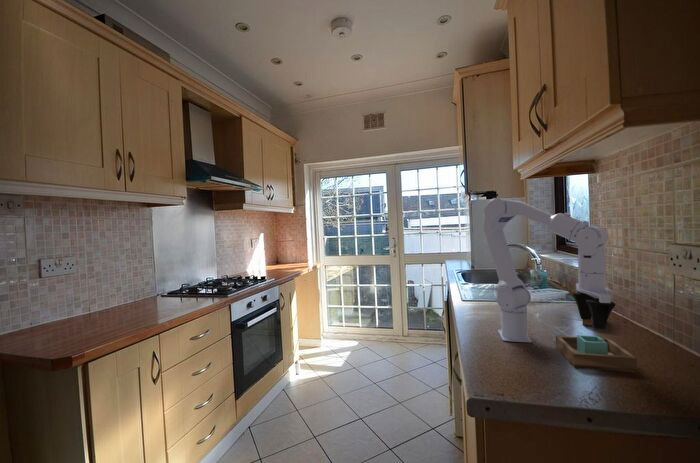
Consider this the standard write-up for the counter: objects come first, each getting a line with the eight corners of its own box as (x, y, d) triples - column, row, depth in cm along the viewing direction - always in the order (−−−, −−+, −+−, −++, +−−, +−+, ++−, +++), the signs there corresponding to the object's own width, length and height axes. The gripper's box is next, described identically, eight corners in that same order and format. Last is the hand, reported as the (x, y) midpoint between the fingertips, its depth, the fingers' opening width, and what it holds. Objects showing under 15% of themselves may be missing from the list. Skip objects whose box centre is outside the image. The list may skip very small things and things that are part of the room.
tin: (585, 316, 121) (584, 294, 120) (595, 317, 119) (595, 295, 118) (581, 327, 109) (581, 302, 109) (593, 329, 107) (593, 304, 107)
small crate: (577, 351, 88) (576, 335, 88) (598, 352, 87) (598, 336, 87) (584, 359, 84) (584, 341, 83) (607, 360, 82) (607, 343, 82)
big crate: (555, 347, 93) (555, 335, 93) (609, 351, 90) (608, 338, 90) (574, 367, 81) (574, 354, 80) (636, 372, 77) (636, 358, 77)
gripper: (625, 277, 76) (625, 334, 77) (596, 267, 90) (596, 316, 91) (590, 276, 78) (591, 332, 79) (567, 267, 92) (568, 315, 93)
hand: (592, 323), depth 85 cm, fingers open, 7 cm apart
